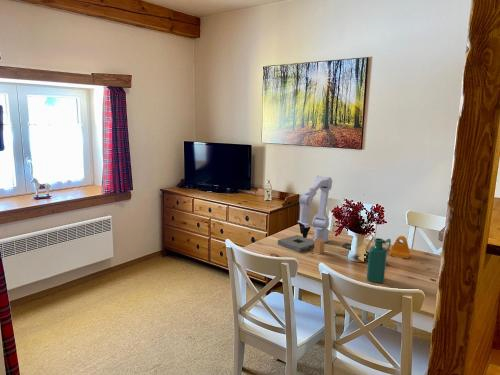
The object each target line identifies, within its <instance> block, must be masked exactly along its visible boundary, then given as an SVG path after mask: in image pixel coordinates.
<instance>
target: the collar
mask: <svg viewBox="0 0 500 375" xmlns="http://www.w3.org/2000/svg"><path fill="white" fill-rule="evenodd" d="M314 242H315V241H314V240H313V239H311V238H309V237H307V238H303V235H299V234H296V235H292V236H287V237H283V238H281V239H277V245H278V246H281V247H283V248H285V249H288V250H291V251H294V252H295V253H304V252H307V251H310V250H314Z"/></svg>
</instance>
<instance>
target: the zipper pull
mask: <svg viewBox="0 0 500 375" xmlns="http://www.w3.org/2000/svg"><path fill="white" fill-rule="evenodd" d="M351 245H352V244H351V243H350V242H349V243H348V242H345V243H343V244H341V248H343V249H346V250H349V251H351ZM348 246H349V247H348ZM365 251H366V253H365V254H364V256H366V258H364V262H363V263H366V264H368V257H369V250H368V251H367V250H365Z"/></svg>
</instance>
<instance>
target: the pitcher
mask: <svg viewBox="0 0 500 375" xmlns="http://www.w3.org/2000/svg"><path fill="white" fill-rule="evenodd" d="M391 240H392V239H391V238H387V239H383V238H381V237H380V238H379V237H377V238H373V241H374V242H375V243H374V245H372V246H371V245H370V247H369V250H368V252H369V257H368V263H367V270H366V280H367V281H368V282H372V283H377V284H383V283H384V282H385V275H386V274H385V272H386V264H387V255H388V254H387V253H388V251H390V247H391V243H392V242H391ZM383 244H388V245H387V247H384V246H383Z"/></svg>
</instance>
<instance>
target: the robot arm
mask: <svg viewBox="0 0 500 375" xmlns="http://www.w3.org/2000/svg"><path fill="white" fill-rule="evenodd" d="M332 186H333V179H332V177H330V176H329V177H328V176H322V175H321V176H320V175H317V176H316V177H315V179H314V183H313V185H312V186H311V187H309V188H307V190H306V191H305V193H303V194H301V195H300V196H299V198H298V202H299V207H300V211H299V220H297V223H298V226H299V232H300V234H301V235H302V237H303V238H308V234H309V231H310V230H311V226H309V224H310V215H311V213H310V210H311V205H312V203H313V200H314V197H315V196H316V195H317V191H319V189H320V197H319V205H318V212H317V214H315V215H314V216H313V219H312V226H313V229H314V234H313V235H314V238H313V239H312V240H314V241H315V239H319V238H320V239H323V240H325V243H327V242H330V240H329V229H328V228H329V227H330V226H329V225H330V217H329V216H327V212H326V211H327V205H328V201H329V200H328V198H329V192H330V190H332Z"/></svg>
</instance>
